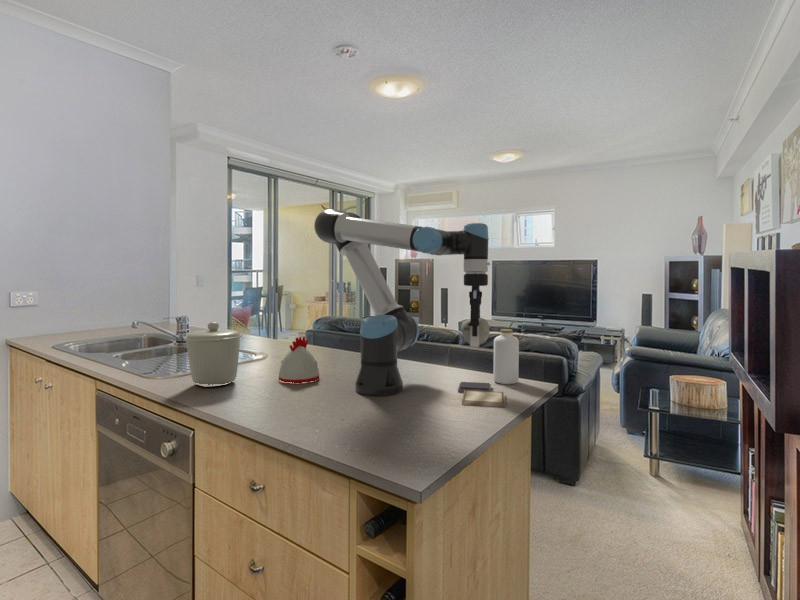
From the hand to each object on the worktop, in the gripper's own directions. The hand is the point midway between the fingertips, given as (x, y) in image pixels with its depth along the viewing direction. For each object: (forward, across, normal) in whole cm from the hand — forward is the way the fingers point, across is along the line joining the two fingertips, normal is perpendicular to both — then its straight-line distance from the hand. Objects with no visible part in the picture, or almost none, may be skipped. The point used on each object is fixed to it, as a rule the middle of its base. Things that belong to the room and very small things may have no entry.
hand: (475, 344), depth 142 cm
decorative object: (0, 0, 0) cm, 0 cm away
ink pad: (+15, 0, 0) cm, 15 cm away
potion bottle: (+15, +12, -10) cm, 22 cm away
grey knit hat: (+15, +2, +61) cm, 63 cm away
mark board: (+15, -11, -3) cm, 19 cm away
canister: (+15, -10, +86) cm, 88 cm away
